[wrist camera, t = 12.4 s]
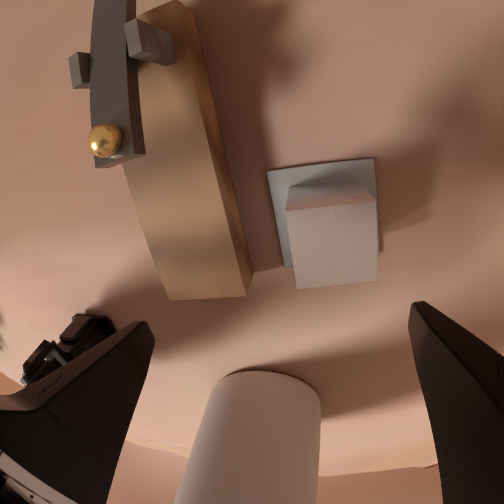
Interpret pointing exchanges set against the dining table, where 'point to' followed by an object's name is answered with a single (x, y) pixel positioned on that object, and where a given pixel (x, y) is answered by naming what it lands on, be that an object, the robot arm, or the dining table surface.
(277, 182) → the rubber mat
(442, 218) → the dining table surface
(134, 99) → the lever
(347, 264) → the cap block
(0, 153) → the dining table surface
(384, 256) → the dining table surface
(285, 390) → the cylinder vase
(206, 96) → the plane body
